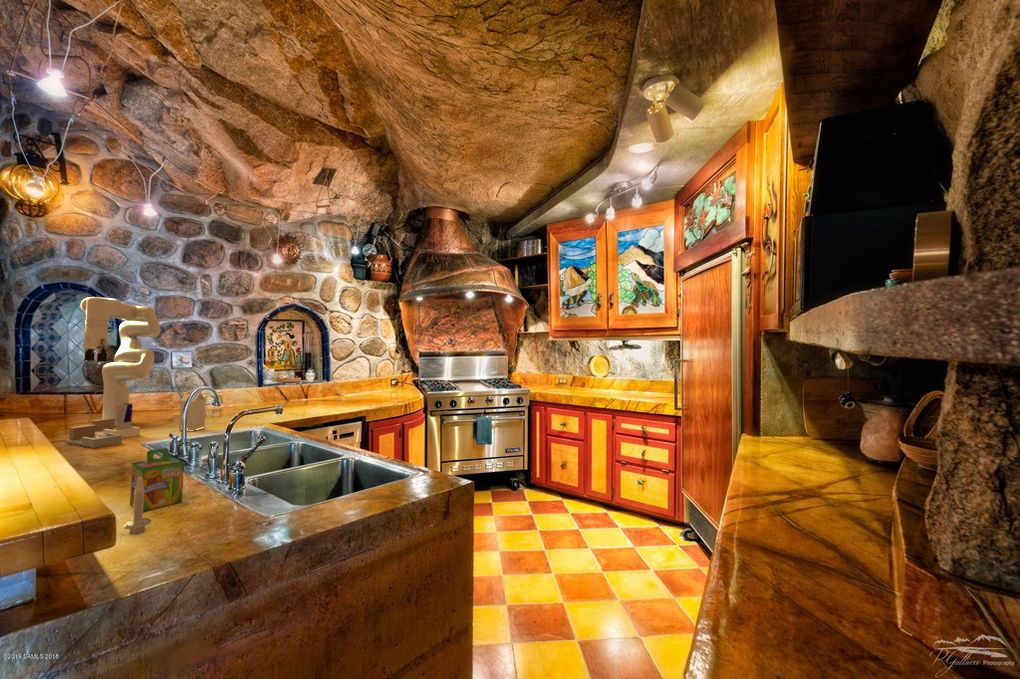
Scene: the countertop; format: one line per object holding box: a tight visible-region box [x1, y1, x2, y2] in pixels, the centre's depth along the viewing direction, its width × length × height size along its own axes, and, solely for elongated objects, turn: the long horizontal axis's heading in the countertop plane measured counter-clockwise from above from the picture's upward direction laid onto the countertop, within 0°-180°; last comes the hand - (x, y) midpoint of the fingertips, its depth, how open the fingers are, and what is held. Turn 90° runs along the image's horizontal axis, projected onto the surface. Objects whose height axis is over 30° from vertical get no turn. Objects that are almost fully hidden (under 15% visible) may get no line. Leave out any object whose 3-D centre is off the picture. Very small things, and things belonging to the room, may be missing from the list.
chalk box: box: [129, 447, 185, 512], centre depth 113 cm, size 9×9×15 cm
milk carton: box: [178, 390, 207, 432], centre depth 202 cm, size 7×7×19 cm
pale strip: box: [91, 418, 141, 439], centre depth 187 cm, size 20×9×6 cm, turn 70°
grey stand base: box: [65, 424, 123, 449], centre depth 172 cm, size 20×9×6 cm, turn 70°
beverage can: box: [115, 402, 133, 431], centre depth 185 cm, size 5×5×15 cm
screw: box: [123, 477, 152, 535], centre depth 96 cm, size 13×5×5 cm
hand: (95, 361), depth 188 cm, fingers open, 9 cm apart
